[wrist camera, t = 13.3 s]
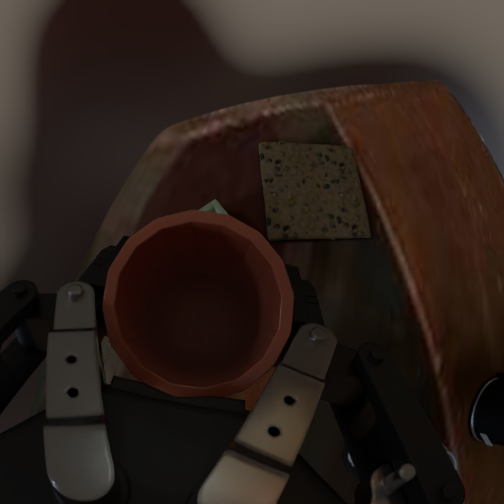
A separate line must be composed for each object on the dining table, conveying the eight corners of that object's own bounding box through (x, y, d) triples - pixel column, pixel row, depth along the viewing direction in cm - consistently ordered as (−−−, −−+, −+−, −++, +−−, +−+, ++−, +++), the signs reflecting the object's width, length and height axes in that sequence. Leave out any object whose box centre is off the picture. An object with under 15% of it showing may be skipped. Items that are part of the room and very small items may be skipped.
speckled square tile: (371, 239, 35) (375, 236, 34) (266, 242, 33) (268, 239, 32) (351, 148, 38) (354, 144, 37) (257, 143, 36) (258, 138, 35)
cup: (210, 253, 19) (215, 178, 10) (271, 329, 18) (330, 316, 9) (133, 311, 17) (70, 281, 9) (194, 390, 16) (182, 436, 8)
